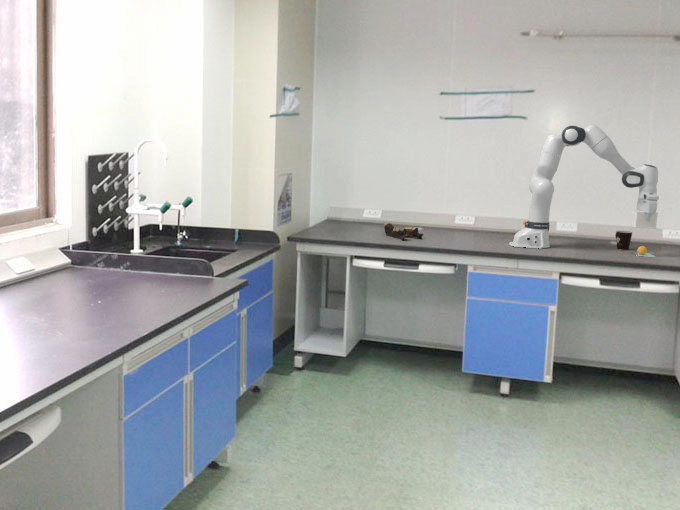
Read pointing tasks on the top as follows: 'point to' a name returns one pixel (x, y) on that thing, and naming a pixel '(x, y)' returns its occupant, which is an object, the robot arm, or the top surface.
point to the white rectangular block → (643, 220)
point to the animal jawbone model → (401, 232)
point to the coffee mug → (623, 239)
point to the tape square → (646, 255)
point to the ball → (642, 250)
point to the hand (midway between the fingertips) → (644, 220)
